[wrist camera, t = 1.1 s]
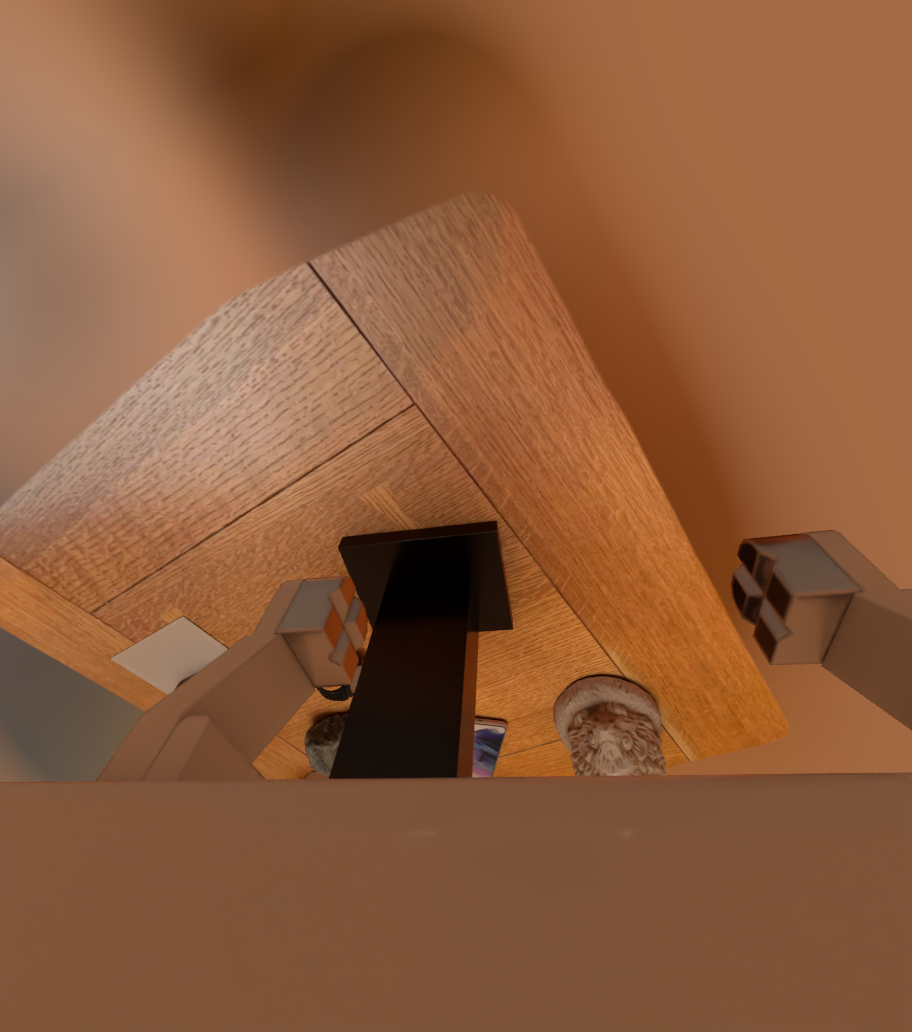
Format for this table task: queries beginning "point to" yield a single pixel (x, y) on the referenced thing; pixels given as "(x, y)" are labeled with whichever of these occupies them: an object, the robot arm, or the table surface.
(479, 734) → the smartphone
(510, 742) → the table surface
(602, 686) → the sculpture
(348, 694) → the smartwatch
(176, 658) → the stack of crates
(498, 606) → the stand
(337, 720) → the rock
